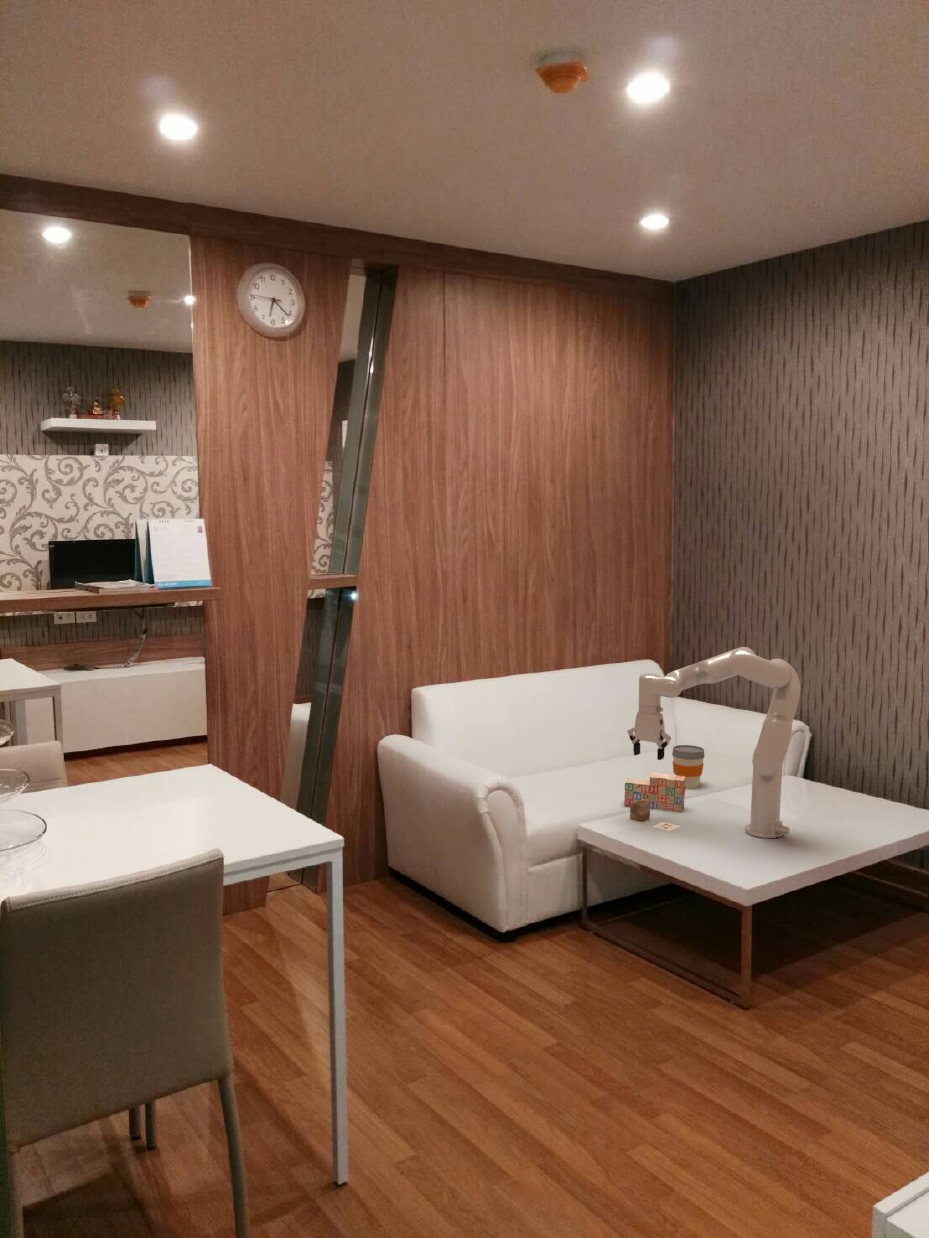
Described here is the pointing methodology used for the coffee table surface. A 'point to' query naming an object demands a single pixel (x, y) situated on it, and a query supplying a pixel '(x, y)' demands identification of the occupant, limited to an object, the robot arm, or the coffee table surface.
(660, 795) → the stack of blocks
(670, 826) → the mat
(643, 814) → the walnut block
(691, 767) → the reusable coffee cup
